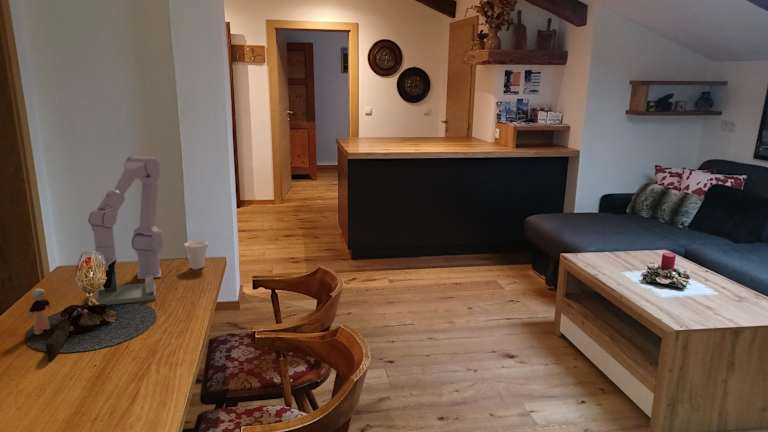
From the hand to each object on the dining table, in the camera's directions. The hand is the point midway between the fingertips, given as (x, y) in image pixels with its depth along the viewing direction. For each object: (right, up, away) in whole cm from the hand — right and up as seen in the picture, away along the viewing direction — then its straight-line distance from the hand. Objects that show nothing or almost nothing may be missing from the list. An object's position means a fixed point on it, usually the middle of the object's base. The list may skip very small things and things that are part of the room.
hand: (108, 284), depth 185 cm
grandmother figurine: (-5, -10, -26) cm, 29 cm away
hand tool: (+5, -13, -35) cm, 37 cm away
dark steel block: (+1, -2, +1) cm, 2 cm away
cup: (+20, +3, +30) cm, 36 cm away
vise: (+5, -4, 0) cm, 6 cm away
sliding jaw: (+13, -2, +3) cm, 13 cm away
